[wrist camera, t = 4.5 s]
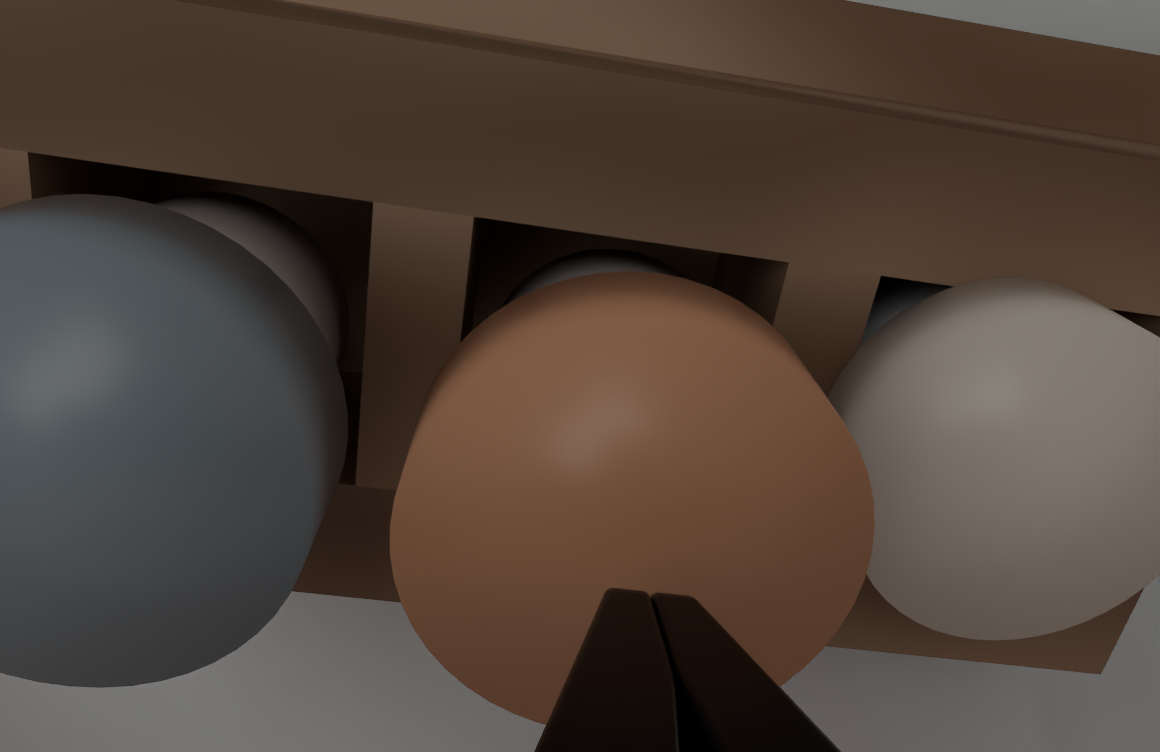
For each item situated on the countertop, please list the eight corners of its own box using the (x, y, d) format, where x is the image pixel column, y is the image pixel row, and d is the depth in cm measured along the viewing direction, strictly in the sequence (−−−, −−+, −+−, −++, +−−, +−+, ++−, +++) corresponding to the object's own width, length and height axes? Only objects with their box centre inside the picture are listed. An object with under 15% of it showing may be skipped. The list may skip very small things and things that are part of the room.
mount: (1017, 584, 21) (1143, 742, 17) (31, 473, 19) (-127, 620, 15) (1238, 71, 17) (1493, 100, 12) (-36, -153, 14) (-295, -217, 10)
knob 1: (382, 475, 15) (303, 707, 10) (65, 438, 14) (-178, 664, 10) (405, 171, 13) (321, 279, 8) (37, 116, 12) (-288, 197, 8)
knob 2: (978, 481, 18) (1133, 656, 14) (738, 451, 18) (810, 622, 13) (1071, 242, 16) (1291, 347, 12) (803, 201, 16) (916, 293, 11)
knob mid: (723, 514, 16) (804, 752, 11) (429, 480, 15) (373, 714, 10) (798, 230, 14) (939, 363, 9) (460, 179, 13) (409, 291, 8)
